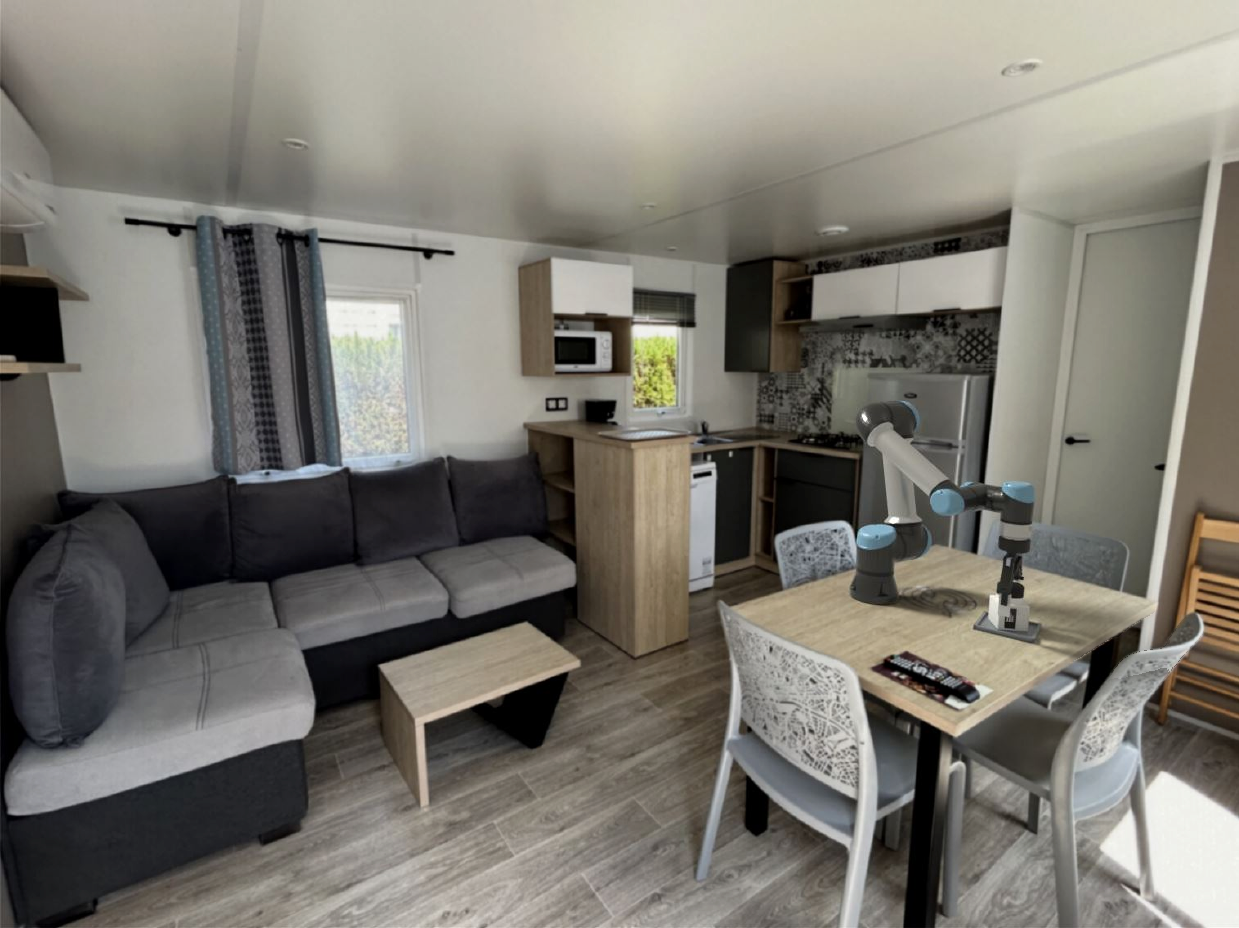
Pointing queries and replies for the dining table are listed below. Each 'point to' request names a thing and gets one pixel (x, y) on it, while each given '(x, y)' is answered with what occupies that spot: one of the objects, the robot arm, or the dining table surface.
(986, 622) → the tray
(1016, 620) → the container
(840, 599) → the dining table surface
